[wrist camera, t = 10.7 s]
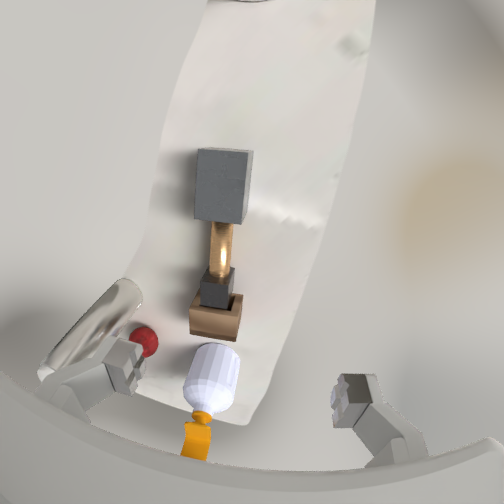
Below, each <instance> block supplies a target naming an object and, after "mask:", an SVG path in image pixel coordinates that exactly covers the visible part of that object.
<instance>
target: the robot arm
mask: <svg viewBox="0 0 504 504" xmlns="http://www.w3.org/2000/svg"><path fill="white" fill-rule="evenodd" d="M240 1H264V0H240ZM142 352H143V347H142V345H141V344H138V343H135V342H131V341H128V340H125V339H122V338H118V337H115V336H112V335H110V336H108V337H107V338H106V339H105V341H104V342H103V343H102V345H101V346H100V347H99V349H98V350H97V351H96V353H95V354H94V355H93V357H92V358H86V359H84V360H82V361H79V362H77V363H75V364H72V365H70V366H68V367H65V368H63V369H60V370H58V371H55V372H53V373H51V374H48V375H47V376H46V377H45V378H44V380H43V381H42V382H41V384H40V385H39V386H38V388H37V389H36V390H35V392H34V393H32V392H30V391H29V390H27V389H26V388H24V387H23V386H21V385H20V384H18V383H17V382H15V381H14V380H13V379H11V378H10V377H8V376H7V375H6V374H4V373H3V372H2V371H0V504H504V446H503V445H502V444H501V443H499V442H498V441H497V440H495V439H493V438H491V437H487V438H483V439H481V440H478V441H476V442H473V443H470V444H468V445H465V446H462V447H459V448H456V449H453V450H450V451H446V452H443V453H439V454H436V455H432V456H429V454H428V450H427V447H426V444H425V440H424V437H423V434H422V433H421V432H420V431H419V430H418V429H417V428H416V427H415V426H413V425H412V424H411V423H410V422H409V421H408V420H407V419H406V418H404V417H403V416H402V415H401V414H400V413H399V412H398V411H396V410H395V409H394V408H393V407H392V406H391V405H390V404H389V403H385V402H384V399H383V395H382V392H381V389H380V386H379V383H378V380H377V376H376V375H375V374H340V376H339V377H338V384H337V385H336V386H334V388H333V390H332V394H331V407H332V408H333V409H334V413H333V415H332V418H333V426H334V428H353V430H354V432H355V433H356V434H357V436H358V437H359V438H360V439H361V440H362V442H363V443H364V444H365V446H366V447H367V448H368V450H369V451H370V452H371V453H372V454H373V456H374V458H373V459H372V460H371V461H370V462H369V463H367V465H366V466H365V468H361V469H351V470H337V471H278V470H264V469H253V468H245V467H237V466H230V465H223V464H218V463H212V462H207V461H202V460H197V459H193V458H189V457H184V456H180V455H176V454H172V453H168V452H165V451H162V450H158V449H155V448H151V447H148V446H145V445H142V444H139V443H136V442H133V441H130V440H128V439H125V438H122V437H120V436H117V435H115V434H112V433H110V432H107V431H105V430H102V429H100V428H98V427H96V426H93V425H91V421H90V419H89V417H88V416H87V414H86V413H85V411H87V410H88V409H90V408H91V407H93V406H95V405H96V404H98V403H99V402H101V401H102V400H104V399H106V398H107V397H109V396H110V395H112V394H113V393H115V392H118V393H121V394H125V395H128V396H131V397H132V396H133V394H134V392H135V390H136V389H137V387H138V384H137V381H138V380H140V379H141V378H142V377H143V375H144V372H145V368H146V361H145V358H144V357H143V356H142Z"/></svg>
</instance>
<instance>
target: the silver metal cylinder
mask: <svg viewBox="0 0 504 504" xmlns="http://www.w3.org/2000/svg"><path fill="white" fill-rule="evenodd" d="M142 300H143V299H142V293H141V291H140V289H139V288H138V286H137V285H136V284H135V283H133V282H132V281H130V280H127V279H119V280H117V281H116V282H115V283H114V284H113V285H112V286H111V287H110V288H109V289H108V290H107V291H106V292H105V293H104V294H103V295H102V296H101V297H100V298H99V299H98V300H97V301H96V302H95V303H94V304H93V305H92V307H90V309H89V310H88V311H87V312H86V313H85V314H84V315H83V316H82V317H81V318H80V319H79V320H78V321H77V322H76V323H75V325H74V326H73V327H72V328H71V329H70V330H69V331H68V332H67V333H66V334H65V336H64V337H63V338H62V339H61V340H60V341H59V342H58V344H57V345H56V346H55V347H54V348H53V349H52V350H51V352H50V353H49V354H48V355H47V356H46V358H45V359H44V360H43V361H42V362H41V363H40V365H39V366H40V368H39V370H38V371H37V375H38V377H39V379H40V381H41V382H42V381H43V380H44V378H45V377H46V376H47V375H48V374H51V373H53V372H55V371H58V370H60V369H63V368H65V367H68V366H70V365H72V364H75V363H77V362H79V361H82V360H84V359H86V358H92V357H93V355H94V354H95V353H96V351H97V350H98V349H99V347H100V346H101V345H102V343H103V342H104V341H105V339H106V338H107V337H108V336H110V335H112V336H115V337H117V336H118V335H119V333H120V332H121V331H122V329H123V328H124V326H125V325H126V324H127V322H128V321H129V320H130V318H131V317H132V316H133V314H134V313H135V312H136V310H137V309H138V308H139V306H140V305H141V304H142Z"/></svg>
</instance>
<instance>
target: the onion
mask: <svg viewBox="0 0 504 504" xmlns="http://www.w3.org/2000/svg"><path fill="white" fill-rule="evenodd" d="M129 341H131V342H135V343H138V344H141V345H142V347H143V352H142V356H143V357H144V358H146V357H149V356H151V355H153V354H154V353H155V352H156V350H157V348H158V337H157V335H156V333H155V332H154V331H153V330H152V329H150V328H147V327H140V328H136V329H135V330H134V331H133V332H132V333H131V334H130V337H129Z"/></svg>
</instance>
